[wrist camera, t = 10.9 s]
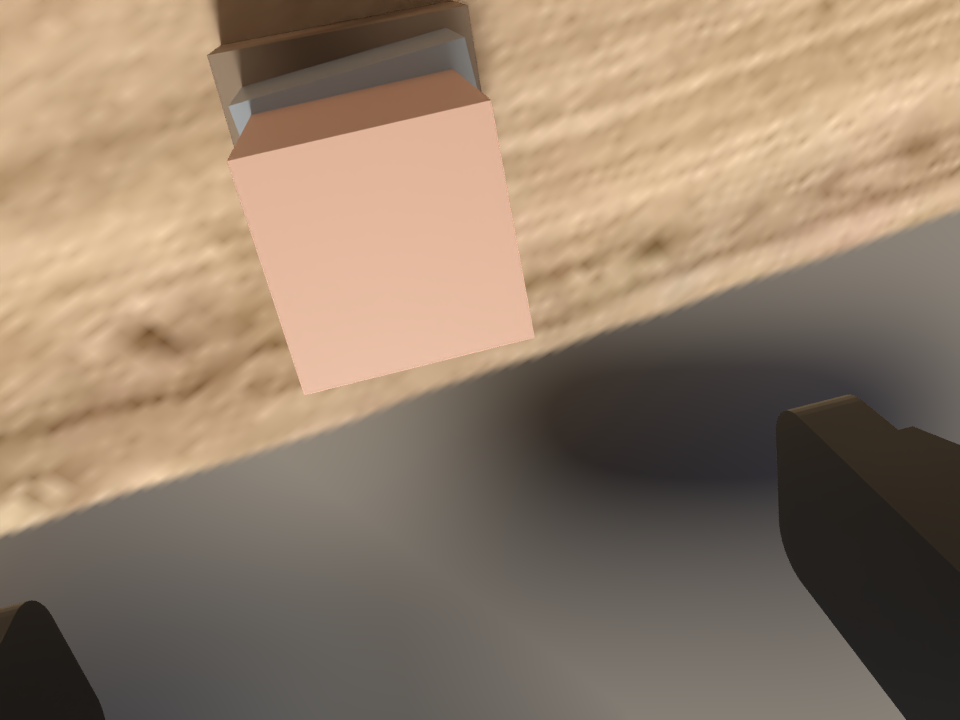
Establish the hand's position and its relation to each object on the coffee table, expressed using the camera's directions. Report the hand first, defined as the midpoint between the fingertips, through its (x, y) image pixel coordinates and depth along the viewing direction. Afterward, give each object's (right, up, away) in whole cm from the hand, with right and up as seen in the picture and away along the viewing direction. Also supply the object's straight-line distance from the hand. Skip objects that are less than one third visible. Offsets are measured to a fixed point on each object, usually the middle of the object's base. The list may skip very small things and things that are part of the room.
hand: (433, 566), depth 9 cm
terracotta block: (-2, +7, +15) cm, 16 cm away
